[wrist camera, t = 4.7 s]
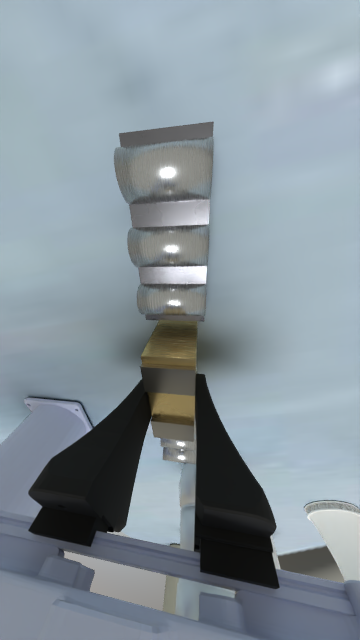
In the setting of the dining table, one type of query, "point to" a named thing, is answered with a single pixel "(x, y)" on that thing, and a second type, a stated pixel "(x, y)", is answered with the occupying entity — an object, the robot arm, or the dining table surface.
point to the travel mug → (170, 591)
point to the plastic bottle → (191, 549)
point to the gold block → (171, 378)
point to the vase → (339, 533)
